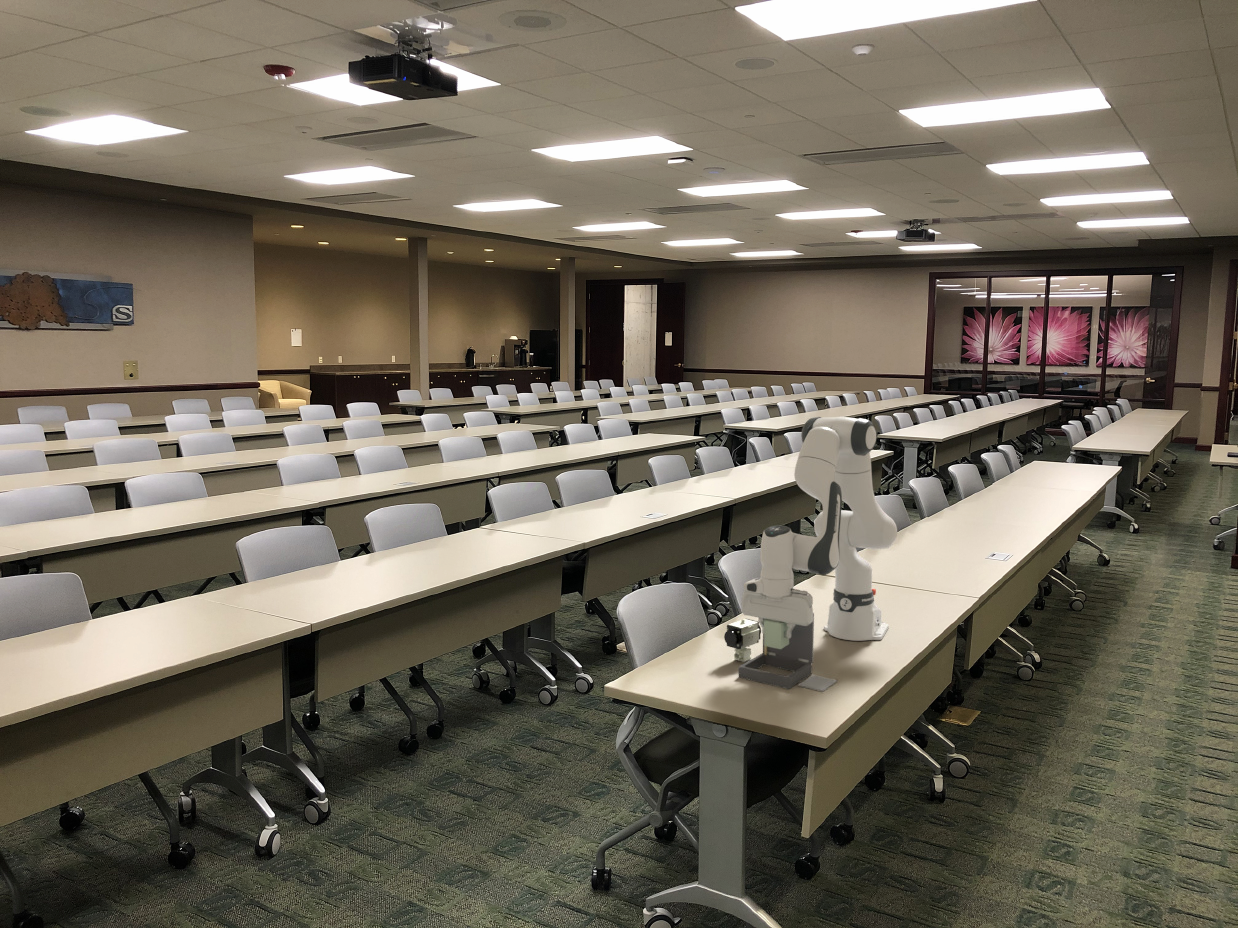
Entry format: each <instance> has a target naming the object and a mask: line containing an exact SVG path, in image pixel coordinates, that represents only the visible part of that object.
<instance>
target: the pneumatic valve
mask: <svg viewBox="0 0 1238 928" xmlns="http://www.w3.org/2000/svg"><path fill="white" fill-rule="evenodd" d="M761 633H762V627H761V625H760V623H759V621H757V620H753V619H749V618H743V619H740V620H738V621H735V622H732V623H728V624H727V625H726V632H725V633H724V635H723V639H724V642H725V643H726V647H729V648H733V649H734V653H733V657H734V658H733V659H734V660H735V661H739V662H741V663H746V662H748V661H750V660H751V659H752V657H751V655H752V648H750V646H753V645H756V644H759V642H760V640H761Z"/></svg>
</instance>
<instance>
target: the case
mask: <svg viewBox="0 0 1238 928" xmlns="http://www.w3.org/2000/svg"><path fill="white" fill-rule="evenodd" d="M766 620H767V619H766ZM814 627H815V612H813V622H812V623H811V624H809V625H808V626H802V625H796V624H795V627H794V628H793V630H792V631H791V638H789V644H788V645H787V646H785V647H784V648H782V649H777V648H772V647H767V646H764V634H763V633H762V652H761V653H760V654H759V655H757V656H755V657H753V658H751V659H750V660H748V661H746V662H743V664H741V665H739V666H738V678H740V679H743V680H749V681H752V682H758V683H762V684H765V685H770V686H773V687H777V688H783V689H787V690H790V689H791V688H793V687H794V686H796V685H797V684H800V683H801V682H803V681H804V680H806V679H807V678H809V677H810V676H812V675H813V673H812V671H813V668H812V667H813V663H814V637H815V634H814V633H815V632H814V630H815V629H814ZM763 666H767V667H772V668H777V669H781V670H787V671H791V672H792V673H790V674H789V675H783V674H778V673H774V672H771V671H765V670H761V669H760V668H761V667H763Z"/></svg>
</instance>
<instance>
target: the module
mask: <svg viewBox="0 0 1238 928" xmlns="http://www.w3.org/2000/svg"><path fill="white" fill-rule="evenodd" d="M788 628H789V627H788V626H787V623H786V622H780V621H775V620H769V619H767V620H765V621H764V646H767V647H772V648H777V649H782V648H784V647H785V646H787V645H788V644H789V639H788V638H784V631H786V630H788Z"/></svg>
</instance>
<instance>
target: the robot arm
mask: <svg viewBox="0 0 1238 928" xmlns="http://www.w3.org/2000/svg"><path fill="white" fill-rule="evenodd" d="M877 436H878V435H877V429H876V426H875V424H873V422H872V421H870V420H869V419H866V418H861V417H859V418H855V417H848V416H847V417H846V416H831V417H830V416H827V417H821V416H816V417H815V416H814V417H812V418H808V419H807V421H806V422H804V424H803V427H802V429H801V442H802V445H801V448H800V450H799V453H798V457H797V460H796V464H795V467H794V475H793V476H794V480H795V483H796V484H797V486H798V487H799V488H800V489H801V490H802V492H804V493H806V494H807V495H809V496H810V497H812V498H814V499H815V500H818V501H819V502H820V503H821V506H822V511H821V512H820V513H818V515H817V516H816V518H815V520H814V523H813V525H814V526H813V528H814V532H815V535H816V536H813V535H804V534H800V533H795V532H793V531H792V529H791V528H790V527H788V526H786V525H780V524H779V525H771V526H769V527H766V528H765V529H764V530H763V532H762V537H761V541H760V542H761V543H760V564H761V571H760V577H756V578H752V579H751V580H748V581H746V582H745V583H743V590H744V591H743V593H742V594H741V595H742V596H741V603H740V604H741V607H740V608H741V609H740V610H741V612H742V614H743V615H744V616H749V617H754V618H758V622H759V625H760V627H761V633H762V635H763V634H764V621H765V620H766V619H769V620H775V621H780V622H786V623H787V626H788V627H789V628H788V630H786V631H784V638H788V639H789V638H791V631H792V630H793V628H794V627H795V624H796V625H802V626H808V625H809V624H811V623H812V622H813V613H814V610H813V609H814V608H813V604H814V602H813V601H814V600H813V599H814V598H813V595H812V594H811V593H809V592H808V591H807V590H800V589H796V588H794V572H793V570H798V571H803V572H809V573H812V574H815V575H820V576H826V575H828V574H830V573H831V572H833V571H834V577H835V579H834V582H835V586H834V589H833V593H832V594H833V595H832V597H833V602H832V603H831V604H829V606H828V607H829V608H828V615H827V616H828V617H827V624H825V625H823V630H824V631H826V632H828V634H829V635H830V636H832V637H834V638H837V639H840V640H841V639H842V640H845V641H859V642H860V641H861V642H862V641H870V640H871V641H874V640H875V641H879V640H880V641H881V640H883V638H884V637H885V634H886V633H887V631H888V629H889V628H890V627H889V624H888V623H885V622H882V610H881V608H880V607H878V606H877V604H876V603H875V598H874V597H875V596H876V595H877V589H875V588H873V567H872V566H871V564H870V562H869V561H867V560H866V559H865V558H863V557H862V556H861V555H860V553H858V550H857V548H861V549H869V550H882V549H889V548H891V547H892V546H893V545H894V543H895V542H896V540H897V537H898V527H897V524H896V522H895V520H894V519H893V518H892V517H891V516H889V515H888V514H887V513H886V512H885V511H884V510H883V509H882V507H881V506H880V505H879V503H878V501H877V499H876V495H875V493H874V487H873V475H872V473H873V472H872V461H871V451H872V450H873V449H874V448H875V446H876V443H877ZM842 503H845V504H847V505H848V507H849V508H850V509H851V510H846V509H845V510H843V509H842V507H843V506H842V505H843V504H842Z"/></svg>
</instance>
